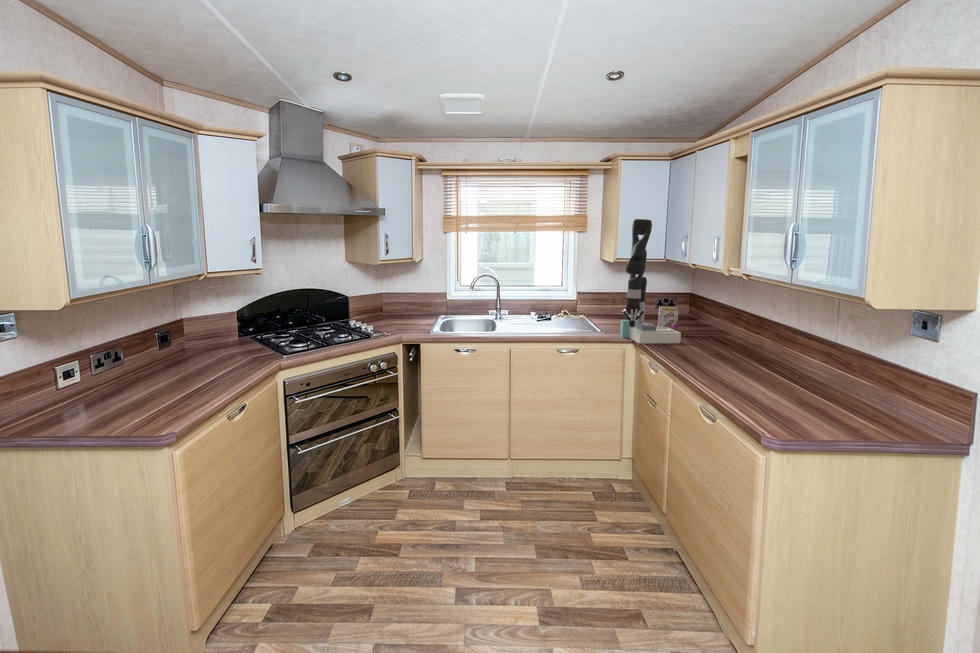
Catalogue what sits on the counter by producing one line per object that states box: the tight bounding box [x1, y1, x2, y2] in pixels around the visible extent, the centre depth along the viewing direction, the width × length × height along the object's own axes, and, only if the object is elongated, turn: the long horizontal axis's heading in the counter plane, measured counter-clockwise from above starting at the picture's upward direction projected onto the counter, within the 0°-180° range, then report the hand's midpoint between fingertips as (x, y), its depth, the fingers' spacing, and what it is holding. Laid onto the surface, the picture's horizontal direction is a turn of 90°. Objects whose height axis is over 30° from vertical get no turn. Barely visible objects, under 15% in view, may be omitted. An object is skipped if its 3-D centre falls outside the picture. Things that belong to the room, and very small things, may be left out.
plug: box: [619, 319, 630, 339], centre depth 307 cm, size 4×4×10 cm
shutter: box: [637, 321, 657, 331], centre depth 298 cm, size 8×8×4 cm
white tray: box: [628, 326, 682, 345], centre depth 299 cm, size 16×24×7 cm, turn 96°
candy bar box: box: [656, 306, 680, 331], centre depth 320 cm, size 11×5×16 cm, turn 84°
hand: (631, 326), depth 297 cm, fingers closed
